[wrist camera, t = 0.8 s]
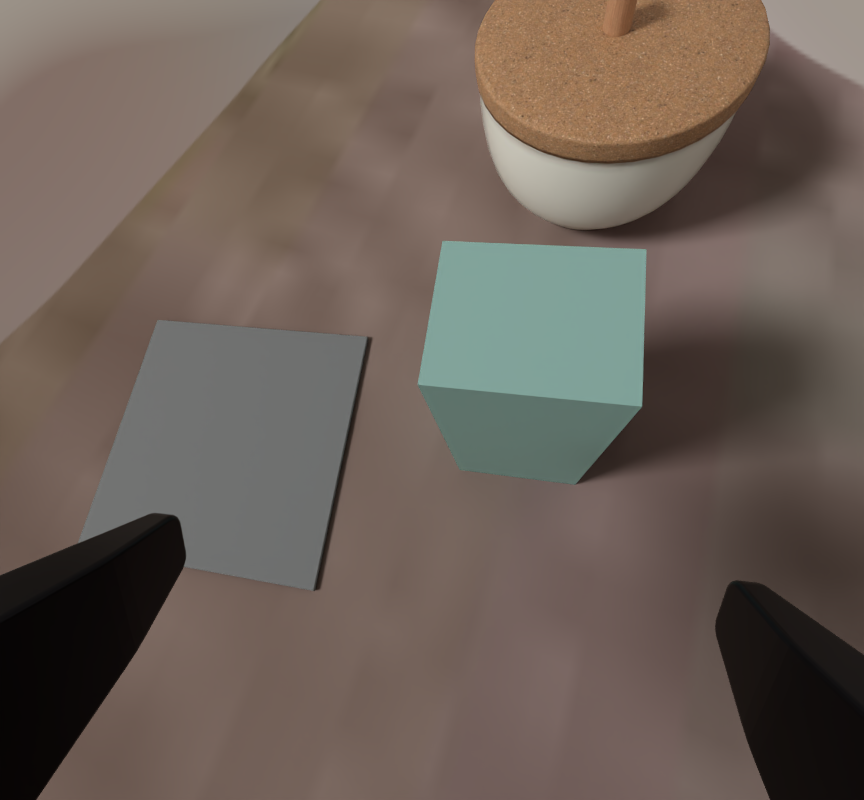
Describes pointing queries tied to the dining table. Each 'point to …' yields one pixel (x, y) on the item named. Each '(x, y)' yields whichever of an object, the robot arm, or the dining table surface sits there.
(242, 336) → the mat
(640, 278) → the block
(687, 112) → the lidded jar
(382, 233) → the dining table surface
